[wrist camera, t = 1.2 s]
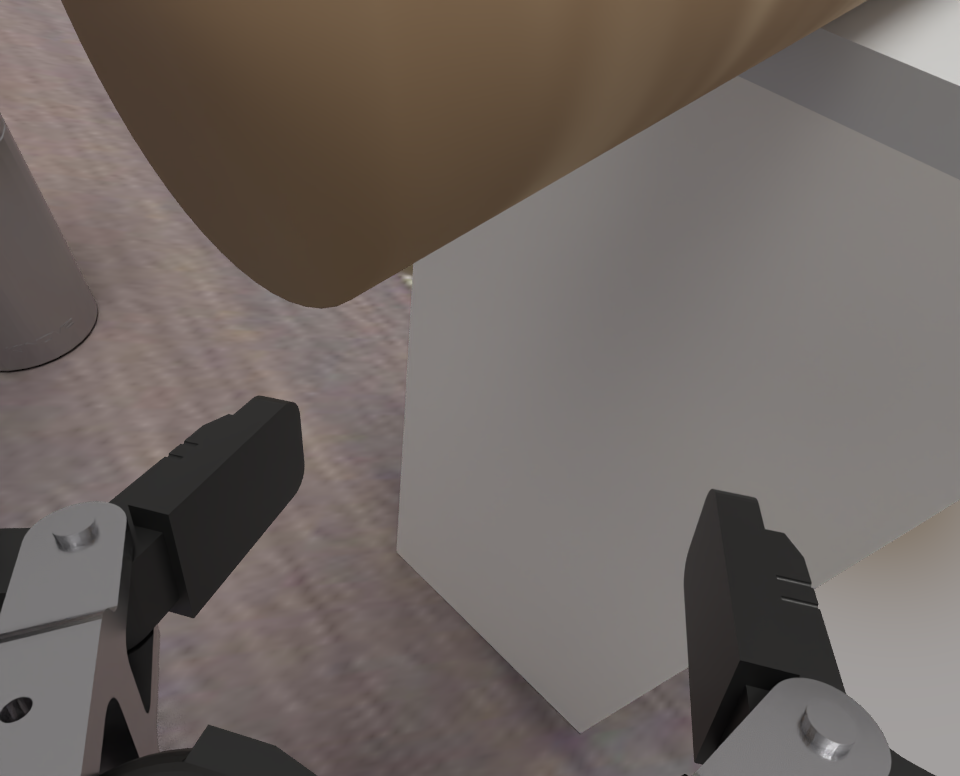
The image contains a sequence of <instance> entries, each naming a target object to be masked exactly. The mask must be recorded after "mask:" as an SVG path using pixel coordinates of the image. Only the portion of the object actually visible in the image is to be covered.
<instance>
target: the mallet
mask: <svg viewBox="0 0 960 776" xmlns="http://www.w3.org/2000/svg"><path fill="white" fill-rule="evenodd" d="M61 1H62V3H63V5H64V8H65V10H66V12H67V14H68V16H69V18H70V21H71V23H72V25H73V27H74V29H75V31H76V33H77V35H78V38H79V40H80V42H81V44H82V46H83V48H84V50H85V52H86V54H87V56H88V58H89V60H90V62H91V64H92V65H93V67H94V69H95V71H96V73H97V75H98V77H99V79H100V81H101V83H102V84H103V86H104V88H105V90H106V92H107V94H108V95H109V97H110V99H111V101H112V103H113V104H114V106H115V108H116V110H117V111H118V113H119V115H120V116H121V118H122V120H123V121H124V123H125V125H126V127H127V128H128V130H129V132H130V133H131V135H132V137H133V138H134V140H135V141H136V143H137V144H138V146H139V147H140V149H141V151H142V152H143V154H144V155H145V157H146V158H147V160H148V161H149V163H150V164H151V166H152V167H153V169H154V170H155V172H156V173H157V174H158V176H159V177H160V179H161V180H162V182H163V183H164V184H165V186H166V187H167V189H168V190H169V191H170V193H171V194H172V195H173V197H174V198H175V199H176V201H177V202H178V203H179V204H180V206H181V207H182V208H183V210H184V211H185V212H186V213H187V215H188V216H189V217H190V218H191V219H192V221H193V222H194V223H195V224H196V225H197V226H198V228H199V229H200V230H201V231H202V232H203V234H204V235H205V236H206V237H207V238H208V239H209V240H210V241H211V242H212V243H213V244H214V245H215V246H216V247H217V248H218V249H219V250H220V252H221V253H223V254H224V255H225V256H226V257H227V258H228V259H229V260H230V261H231V262H232V263H233V264H234V265H235V266H236V267H238V268H239V269H240V270H241V271H242V272H244V273H245V274H246V275H247V276H249V277H250V278H251V279H252V280H254V281H255V282H256V283H258V284H259V285H261V286H262V287H264V288H265V289H267V290H269V291H270V292H272V293H273V294H275V295H277V296H279V297H281V298H283V299H285V300H287V301H289V302H293V303H296V304H299V305H302V306H305V307H313V308H328V307H335V306H339V305H341V304H343V303H345V302H347V301H349V300H351V299H353V298H355V297H357V296H358V295H360V294H362V293H363V292H365V291H367V290H369V289H370V288H372V287H374V286H376V285H377V284H379V283H381V282H382V281H384V280H386V279H388V278H389V277H391V276H393V275H395V274H396V273H398V272H400V271H401V270H403V269H405V268H407V267H408V266H410V265H412V264H413V263H415V262H417V261H419V260H420V259H422V258H424V257H426V256H427V255H429V254H431V253H432V252H434V251H436V250H438V249H439V248H441V247H443V246H445V245H446V244H448V243H450V242H451V241H453V240H455V239H457V238H458V237H460V236H462V235H464V234H465V233H467V232H469V231H470V230H472V229H474V228H476V227H477V226H479V225H481V224H483V223H484V222H486V221H488V220H489V219H491V218H493V217H495V216H496V215H498V214H500V213H502V212H503V211H505V210H507V209H508V208H510V207H512V206H514V205H515V204H517V203H519V202H521V201H522V200H524V199H526V198H527V197H529V196H531V195H533V194H534V193H536V192H538V191H540V190H541V189H543V188H545V187H546V186H548V185H550V184H552V183H553V182H555V181H557V180H558V179H560V178H562V177H564V176H565V175H567V174H569V173H571V172H572V171H574V170H576V169H577V168H579V167H581V166H583V165H584V164H586V163H588V162H590V161H591V160H593V159H595V158H596V157H598V156H600V155H602V154H603V153H605V152H607V151H609V150H610V149H612V148H614V147H615V146H617V145H619V144H621V143H622V142H624V141H626V140H628V139H629V138H631V137H633V136H634V135H636V134H638V133H640V132H641V131H643V130H645V129H647V128H648V127H650V126H652V125H653V124H655V123H657V122H659V121H660V120H662V119H664V118H666V117H667V116H669V115H671V114H672V113H674V112H676V111H678V110H679V109H681V108H683V107H685V106H686V105H688V104H690V103H691V102H693V101H695V100H697V99H698V98H700V97H702V96H703V95H705V94H707V93H709V92H710V91H712V90H714V89H716V88H717V87H719V86H721V85H722V84H724V83H726V82H728V81H729V80H731V79H733V78H735V77H736V76H738V75H740V74H741V73H743V72H745V71H747V70H748V69H750V68H752V67H754V66H755V65H757V64H759V63H760V62H762V61H764V60H766V59H767V58H769V57H771V56H773V55H774V54H776V53H778V52H779V51H781V50H783V49H785V48H786V47H788V46H790V45H792V44H793V43H795V42H797V41H798V40H800V39H802V38H804V37H805V36H807V35H809V34H811V33H812V32H814V31H816V30H817V29H819V28H821V27H823V26H824V25H826V24H828V23H830V22H831V21H833V20H835V19H836V18H838V17H840V16H842V15H843V14H845V13H847V12H848V11H850V10H852V9H854V8H855V7H857V6H859V5H861V4H862V3H864V2H866V1H867V0H61Z"/></svg>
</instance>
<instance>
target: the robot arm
mask: <svg viewBox="0 0 960 776" xmlns="http://www.w3.org/2000/svg"><path fill="white" fill-rule="evenodd" d="M97 313H98V312H97V303H96V301H95V299H94V297H93V295H92V293H91V291H90V289H89V287H88V285H87V283H86V281H85V279H84V277H83V275H82V273H81V271H80V269H79V267H78V265H77V263H76V261H75V259H74V257H73V255H72V253H71V251H70V249H69V247H68V245H67V243H66V241H65V239H64V237H63V235H62V233H61V231H60V229H59V227H58V225H57V223H56V221H55V219H54V217H53V215H52V213H51V211H50V209H49V207H48V205H47V203H46V201H45V199H44V198H43V196H42V194H41V192H40V190H39V188H38V186H37V184H36V182H35V180H34V178H33V176H32V174H31V172H30V170H29V168H28V166H27V164H26V162H25V160H24V158H23V156H22V154H21V152H20V150H19V148H18V146H17V144H16V142H15V140H14V138H13V136H12V134H11V132H10V130H9V128H8V126H7V125H6V123H5V121H4V119H3V117H2V115H1V113H0V371H11V370H18V369H25V368H29V367H33V366H37V365H41V364H43V363H46V362H48V361H51V360H53V359H56V358H58V357H60V356H61V355H63V354H65V353H67V352H68V351H70V350H71V349H73V348H74V347H75V346H76V345H78V344H79V343H80V342H82V340H83V339H84V338H85V337H86V336H87V335H88V334H89V333H90V331H91V329H92V327H93V326H94V324H95V322H96V317H97ZM303 475H304V454H303V443H302V432H301V421H300V412H299V408H298V406H297V405H296V403H294V402H289V401H284V400H280V399H275V398H270V397H265V396H256V397H254V398H253V399H251V400H250V401H249V402H248V403H247V404H245V405H244V406H243V407H242V408H241V409H240V410H238V411H237V412H236V413H235V414H234V415H230V414H228V415H226V416H223V417H221V418H219V419H217V420H214V421H212V422H210V423H208V424H205V425H203V426H202V427H201V428H199V429H198V430H197V431H196V432H195V433H193V434H192V435H191V436H190V437H188V438H187V439H186V440H185V441H184V444H180V445H179V446H177V447H176V448H175V449H174V450H172V451H171V452H170V453H169V456H168V457H164V458H163V459H161V460H160V461H159V462H158V463H157V464H155V465H154V466H153V467H152V468H150V469H149V470H148V471H147V472H146V473H144V474H143V475H142V476H141V477H139V478H138V479H137V480H136V481H134V482H133V483H132V484H131V485H130V486H128V487H127V488H126V489H125V490H123V491H122V492H121V493H120V494H119V495H117V496H116V497H115V498H114V499H112V500H111V501H110V502H109V503H107V502H85V503H79V504H75V505H71V506H68V507H65V508H62V509H60V510H57V511H55V512H53V513H51V514H49V515H47V516H46V517H44V518H43V519H41V520H40V521H38V522H37V523H36V524H35V525H33V527H32V528H7V529H0V776H317V775H315V774H314V773H313V772H311V771H310V770H308V769H307V768H306V767H304V766H303V765H301V764H300V763H299V762H297V761H296V760H295V759H293V758H292V757H290V756H289V755H288V754H286V753H285V752H283V751H282V750H281V749H279V748H278V747H276V746H274V745H271V744H268V743H265V742H262V741H259V740H255V739H252V738H249V737H246V736H243V735H240V734H236V733H233V732H230V731H227V730H224V729H221V728H218V727H214V726H211V725H208V726H207V727H206V729H205V730H204V732H203V733H202V735H201V736H200V738H199V739H198V741H197V742H196V744H195V746H194V747H193V748H185V749H177V750H168V751H163V752H159V745H158V736H157V710H158V680H159V651H160V631H159V627H158V623H159V622H160V620H161V619H162V618H163V617H164V616H165V615H166V614H167V612H168V611H169V612H173V613H177V614H180V615H184V616H187V617H191V618H195V616H196V615H197V614H198V613H199V611H200V610H201V609H202V608H203V607H204V605H205V604H206V603H207V602H208V600H209V599H210V598H211V597H212V596H213V594H214V593H215V592H216V591H217V589H218V588H219V587H220V586H221V585H222V583H223V582H224V581H225V580H226V578H227V577H228V576H229V575H230V574H231V572H232V571H233V570H234V569H235V568H236V566H237V565H238V564H239V563H240V561H241V560H242V559H243V558H244V557H245V555H246V554H247V553H248V552H249V550H250V549H251V548H252V547H253V546H254V544H255V543H256V542H257V541H258V539H259V538H260V537H261V536H262V535H263V533H264V532H265V531H266V530H267V528H268V527H269V526H270V525H271V524H272V522H273V521H274V520H275V519H276V517H277V516H278V515H279V514H280V513H281V511H282V510H283V509H284V508H285V506H286V505H287V504H288V503H289V502H290V500H291V499H292V498H293V497H294V495H295V494H296V493H297V491H298V489H299V487H300V485H301V482H302V479H303ZM811 584H812V582H811V578H810V575H809V572H808V569H807V565H806V562H805V559H804V557H803V556H802V554H801V553H800V552H799V551H798V549H797V548H796V547H795V546H794V544H793V543H792V542H791V541H790V539H789V538H788V537H787V536H786V534H785V533H782V532H777V531H772V530H767V529H765V527H764V523H763V519H762V515H761V511H760V507H759V503H758V500H757V499H756V498H755V497H751V496H746V495H741V494H736V493H731V492H726V491H721V490H716V489H711V490H710V491H709V492H708V494H707V497H706V499H705V502H704V505H703V508H702V511H701V514H700V517H699V520H698V523H697V526H696V529H695V532H694V535H693V538H692V541H691V544H690V547H689V551H688V554H687V558H686V563H685V570H684V602H685V618H686V634H687V651H688V667H689V683H690V700H691V716H692V732H693V749H694V762H695V763H698V764H702V766H701V767H700V768H699V769H698V770H697V771H696V772H695V773H694V774H693V775H692V776H935V775H933V774H931V773H929V772H927V771H926V770H924V769H922V768H920V767H918V766H916V765H915V764H913V763H911V762H909V761H907V760H906V759H904V758H903V757H901V756H900V755H898V754H897V753H895V752H894V751H892V750H891V749H890V748H889V746H888V743H887V741H886V738H885V736H884V734H883V732H882V731H881V730H880V728H879V726H878V725H877V723H876V722H875V721H874V719H873V718H872V717H871V716H870V715H869V714H868V713H867V712H866V711H865V709H864V708H863V707H861V705H859V704H858V703H857V702H856V701H854V700H853V699H852V698H851V697H849V696H848V695H846V693H845V689H844V686H843V683H842V679H841V677H840V674H839V670H838V667H837V663H836V660H835V657H834V653H833V650H832V647H831V644H830V640H829V637H828V634H827V631H826V627H825V625H824V621H823V618H822V614H821V611H820V609H818V601H817V598H816V595H815V591H814V588H811ZM682 776H688V775H686V774H684V775H682Z"/></svg>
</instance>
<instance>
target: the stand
mask: <svg viewBox="0 0 960 776" xmlns="http://www.w3.org/2000/svg"><path fill="white" fill-rule="evenodd" d="M711 489H716V490H721V491H726V492H731V493H736V494H741V495H746V496H751V497H755V498H756V499H757V500H758V503H759V507H760V511H761V515H762V519H763V523H764V527H765V529H767V530H772V531H777V532H782V533H785V534H786V536H787V537H788V538H789V539H790V541H791V542H792V543H793V544H794V546H795V547H796V548H797V549H798V551H799V552H800V553H801V554H802V556H803V557H804V559H805V562H806V565H807V569H808V572H809V575H810V578H811V582H812V584H811V588H814V589H816V588H817V587H819V586H821V585H822V584H824V583H825V582H827V581H829V580H830V579H832V578H834V577H835V576H837V575H838V574H840V573H842V572H843V571H845V570H847V569H848V568H850V567H851V566H853V565H855V564H856V563H858V562H860V561H861V560H863V559H864V558H866V557H868V556H869V555H871V554H872V553H874V552H876V551H877V550H879V549H881V548H882V547H884V546H886V545H887V544H889V543H890V542H892V541H893V540H895V539H897V538H899V537H900V536H902V535H903V534H905V533H907V532H908V531H910V530H912V529H913V528H915V527H916V526H918V525H920V524H921V523H923V522H925V521H926V520H928V519H929V518H931V517H933V516H934V515H936V514H937V513H939V512H941V511H942V510H944V509H946V508H947V507H949V506H950V505H952V504H954V503H955V502H957V501H959V500H960V0H867V1H866V2H864V3H862V4H861V5H859V6H857V7H855V8H854V9H852V10H850V11H848V12H847V13H845V14H843V15H842V16H840V17H838V18H836V19H835V20H833V21H831V22H830V23H828V24H826V25H824V26H823V27H821V28H819V29H817V30H816V31H814V32H812V33H811V34H809V35H807V36H805V37H804V38H802V39H800V40H798V41H797V42H795V43H793V44H792V45H790V46H788V47H786V48H785V49H783V50H781V51H779V52H778V53H776V54H774V55H773V56H771V57H769V58H767V59H766V60H764V61H762V62H760V63H759V64H757V65H755V66H754V67H752V68H750V69H748V70H747V71H745V72H743V73H741V74H740V75H738V76H736V77H735V78H733V79H731V80H729V81H728V82H726V83H724V84H722V85H721V86H719V87H717V88H716V89H714V90H712V91H710V92H709V93H707V94H705V95H703V96H702V97H700V98H698V99H697V100H695V101H693V102H691V103H690V104H688V105H686V106H685V107H683V108H681V109H679V110H678V111H676V112H674V113H672V114H671V115H669V116H667V117H666V118H664V119H662V120H660V121H659V122H657V123H655V124H653V125H652V126H650V127H648V128H647V129H645V130H643V131H641V132H640V133H638V134H636V135H634V136H633V137H631V138H629V139H628V140H626V141H624V142H622V143H621V144H619V145H617V146H615V147H614V148H612V149H610V150H609V151H607V152H605V153H603V154H602V155H600V156H598V157H596V158H595V159H593V160H591V161H590V162H588V163H586V164H584V165H583V166H581V167H579V168H577V169H576V170H574V171H572V172H571V173H569V174H567V175H565V176H564V177H562V178H560V179H558V180H557V181H555V182H553V183H552V184H550V185H548V186H546V187H545V188H543V189H541V190H540V191H538V192H536V193H534V194H533V195H531V196H529V197H527V198H526V199H524V200H522V201H521V202H519V203H517V204H515V205H514V206H512V207H510V208H508V209H507V210H505V211H503V212H502V213H500V214H498V215H496V216H495V217H493V218H491V219H489V220H488V221H486V222H484V223H483V224H481V225H479V226H477V227H476V228H474V229H472V230H470V231H469V232H467V233H465V234H464V235H462V236H460V237H458V238H457V239H455V240H453V241H451V242H450V243H448V244H446V245H445V246H443V247H441V248H439V249H438V250H436V251H434V252H432V253H431V254H429V255H427V256H426V257H424V258H422V259H420V260H419V261H417V262H415V263H413V280H412V297H411V314H410V331H409V348H408V365H407V382H406V399H405V416H404V432H403V449H402V466H401V483H400V500H399V517H398V534H397V551H396V552H397V553H398V554H399V555H400V556H401V557H402V558H403V559H404V560H405V561H406V562H407V563H408V564H409V565H410V566H411V567H412V568H413V569H414V570H415V571H416V572H417V573H418V574H419V575H420V576H421V577H422V578H423V579H424V580H425V581H426V582H427V583H428V584H429V585H430V586H431V587H432V588H433V589H434V590H435V591H436V592H437V593H438V594H439V595H440V596H441V597H442V598H443V599H444V600H445V601H447V602H448V603H449V604H450V605H451V606H452V607H453V608H454V609H455V610H456V611H457V612H458V613H459V614H460V615H461V616H462V617H463V618H464V619H465V620H466V621H467V622H468V623H469V624H470V625H471V626H472V627H473V628H474V629H475V630H476V631H477V632H478V633H479V634H480V635H481V636H482V637H483V638H484V639H485V640H486V641H487V642H488V643H489V644H490V645H491V646H492V647H493V648H494V649H495V650H496V651H497V652H498V653H499V654H500V655H501V656H502V657H503V658H504V659H505V660H506V661H507V662H508V663H509V664H510V665H511V666H512V667H513V668H514V669H515V670H516V671H517V672H518V673H519V674H520V675H521V676H522V677H523V678H524V679H525V680H526V681H527V682H528V683H529V684H530V685H531V686H532V687H533V688H534V689H536V690H537V691H538V692H539V693H540V694H541V695H542V696H543V697H544V698H545V699H546V700H547V701H548V702H549V703H550V704H551V705H552V706H553V707H554V708H555V709H556V710H557V711H558V712H559V713H560V714H561V715H562V716H563V717H564V718H565V719H566V720H567V721H568V722H569V723H570V724H571V725H572V726H573V727H574V728H575V729H576V730H577V731H578V732H579V733H582V732H584V731H585V730H587V729H589V728H590V727H592V726H593V725H595V724H597V723H598V722H600V721H602V720H603V719H605V718H606V717H608V716H610V715H611V714H613V713H615V712H616V711H618V710H619V709H621V708H623V707H624V706H626V705H628V704H629V703H631V702H632V701H634V700H636V699H637V698H639V697H641V696H642V695H644V694H645V693H647V692H649V691H650V690H652V689H654V688H655V687H657V686H658V685H660V684H662V683H663V682H665V681H666V680H668V679H670V678H671V677H673V676H675V675H676V674H678V673H679V672H681V671H683V670H684V669H686V668H688V651H687V634H686V618H685V602H684V570H685V563H686V558H687V554H688V551H689V547H690V544H691V541H692V538H693V535H694V532H695V529H696V526H697V523H698V520H699V517H700V514H701V511H702V508H703V505H704V502H705V499H706V497H707V494H708V492H709V491H710V490H711Z"/></svg>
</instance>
